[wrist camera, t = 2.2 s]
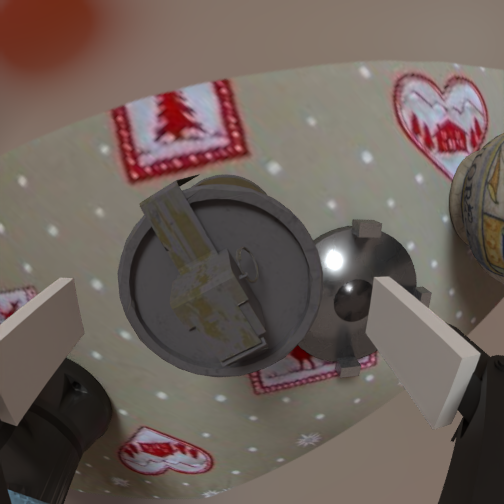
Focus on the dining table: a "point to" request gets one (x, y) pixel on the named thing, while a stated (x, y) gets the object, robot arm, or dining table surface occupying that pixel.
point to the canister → (219, 277)
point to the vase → (481, 205)
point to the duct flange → (355, 291)
